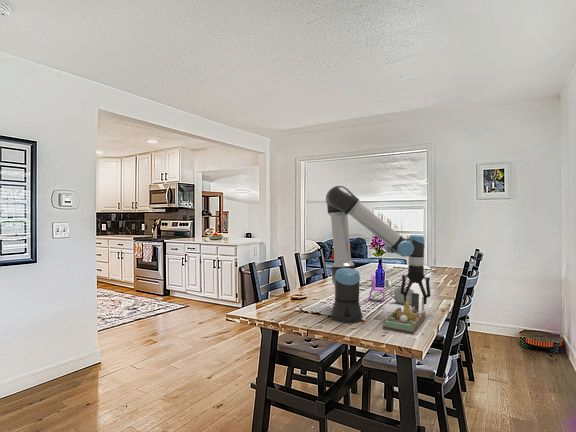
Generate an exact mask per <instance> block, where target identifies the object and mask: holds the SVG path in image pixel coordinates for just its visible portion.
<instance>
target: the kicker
mask: <svg viewBox="0 0 576 432" xmlns="http://www.w3.org/2000/svg"><path fill="white" fill-rule="evenodd" d="M419 306H420V294H419V293H416V292H414V293H412V302H411V303H410V304H409V302H405V304H403V310H401V311H397V318H400V316H401V315H405V316H406V317H407V319H409V320H416V318H417V315H418V313H419V312H420V309H419V308H420V307H419ZM412 309H417V314H415V313H412Z"/></svg>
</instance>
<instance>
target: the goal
mask: <svg viewBox="0 0 576 432" xmlns="http://www.w3.org/2000/svg"><path fill="white" fill-rule="evenodd" d="M384 320H385V319H384ZM384 320H382V327H383V326H385V327H390V328H396V329H402V330H407V331H413V325H412V326H411V324H412V323H413V322H414V321H411V320H409V324H404V323H398V322H395V318H392V317H390V321H384Z"/></svg>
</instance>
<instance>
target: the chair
mask: <svg viewBox="0 0 576 432" xmlns="http://www.w3.org/2000/svg"><path fill="white" fill-rule="evenodd" d="M370 282H371V289H370V291H369V297H368V300H367V301H368V302H369V301H370V300H371V296H372V292H373V291H374V292H375V291H378V292H381V293H382V301H381V303H382V302H384V301H385V295H386V292H385V289H384V287H379V286H378V287H376V282H377V281H376V277H375V275H374V274H371V281H370Z"/></svg>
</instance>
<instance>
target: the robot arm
mask: <svg viewBox="0 0 576 432" xmlns="http://www.w3.org/2000/svg"><path fill="white" fill-rule="evenodd" d="M325 202H326V206H327V209H326V210H327V215H329V216H330V220H331V221H330V222H331V231H332V232H331V235H332V245H333V246H332V247H333V259H334V263H333V264H331V270H332V276H331V280H332V283H333V285H334V303H333V305H332V310H331V312H330V319H332V320H334V321H337V322H341V323H358V322H361V321H363V313H362V310H361V309H362V308H361V306H360V283H361V281H360V280H361V276H360V271H359V270H357V269H355V263H354V262H353V261H352V256H351V255H352V254H351V245H350V244H351V243H350V232H349V216H351V217H352V218H353V219H354V220H356V221H357V222H358V223H359V224H360V225H362V226H363V227H364V228H366V229H367V230H368V231H369V232H371V234H374V236H376V238H378V239H380V240H381V241H382V242H383V243H384V247H385V248H384V249H385V252H386V253H389V254H397V255H399V256H400V257H405V258H407V257H408V267H407V269H408V271H407V274H402V276H401V279H402V282H401V287H400V288H401V294H403V295H404V301H405V302H409V295H407V294H408V291H409V289H411V287H412V284H418V286H419V289H420V291H421V294H422V298H421V312H423V311H425V305H426V304H427V303H428V302H427V301H428V298H430V297H431V295H432V294H431V286H430V279H431V278H430V276H425V271H424V270H425V269H424V268H425V266H424V265H425V257H424V256H425V237H424V235H423V234H422V235H421V234H410V235H409V236H408V238H405V237H403V236H402V235H400V234H399V233H398V232H397V231H396V230H394V229H393V228H392V227H390V226H389V225H388V224H387V223H385V222H384V221H383V220H382V219H381V218H380V217H378V216H377V215H376V214H374V212H372V211H370V210H369V208H367V207H366V206H364V205H363V204H362V203H361V202H360V199H359V198H358V197H357V196H356V195H355V194H353V192H351V191H350V189H348V188H347V187H345V186H343V185H336V186H334V187H332V188H330V189H329V190H328V191H327V193H326V196H325ZM407 278H408V280H409V281H408V284H407V286H406V280H407ZM423 280H424V281H425V287H426V289H425V287H424V284H423ZM405 288H406V291H405V292H404V289H405Z"/></svg>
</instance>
